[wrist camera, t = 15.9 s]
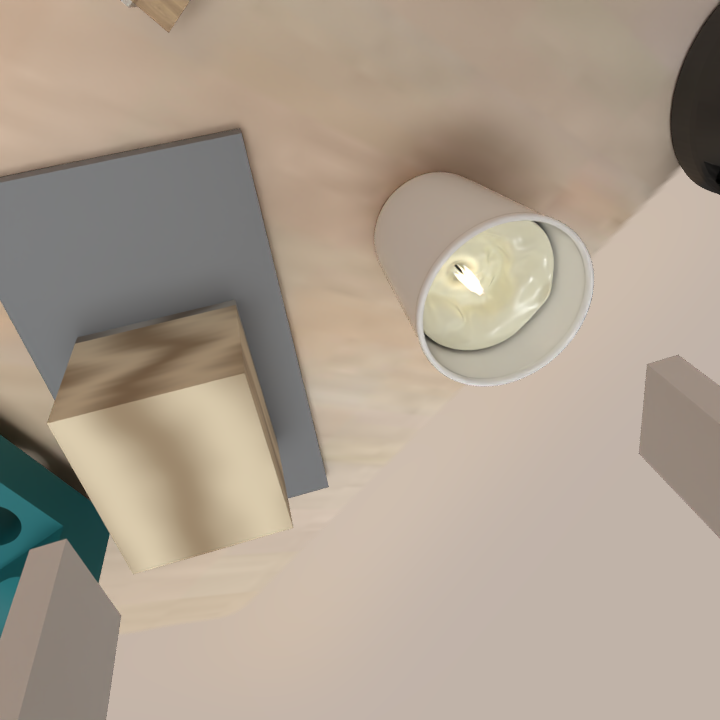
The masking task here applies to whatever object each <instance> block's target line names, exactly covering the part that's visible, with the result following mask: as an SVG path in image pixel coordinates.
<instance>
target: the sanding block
mask: <svg viewBox="0 0 720 720" xmlns="http://www.w3.org/2000/svg"><path fill="white" fill-rule="evenodd" d="M47 425H48V426H49V428H50V430H51V431H52V433H53V435H54V437H55V438H56V440H57V442H58V444H59V445H60V447H61V449H62V451H63V452H64V454H65V456H66V458H67V459H68V461H69V463H70V465H71V466H72V468H73V470H74V472H75V473H76V475H77V477H78V479H79V480H80V482H81V484H82V486H83V487H84V489H85V491H86V493H87V494H88V496H89V498H90V500H91V501H92V503H93V505H94V507H95V508H96V510H97V512H98V514H99V515H100V517H101V519H102V521H103V522H104V524H105V526H106V528H107V529H108V531H109V533H110V535H111V536H112V538H113V540H114V542H115V543H116V545H117V547H118V549H119V550H120V552H121V554H122V555H123V557H124V559H125V561H126V562H127V564H128V566H129V568H130V569H131V571H132V573H133V574H136V573H140V572H143V571H147V570H150V569H154V568H157V567H160V566H164V565H167V564H171V563H174V562H178V561H181V560H185V559H188V558H191V557H195V556H198V555H202V554H205V553H209V552H212V551H216V550H219V549H223V548H226V547H229V546H233V545H236V544H240V543H243V542H247V541H250V540H254V539H257V538H261V537H264V536H267V535H271V534H274V533H278V532H281V531H285V530H288V529H292V528H293V524H292V518H291V513H290V508H289V502H288V497H287V491H286V486H285V481H284V475H283V470H282V464H281V459H280V454H279V448H278V443H277V438H276V435H275V431H274V428H273V425H272V421H271V418H270V415H269V411H268V408H267V405H266V401H265V398H264V395H263V391H262V388H261V385H260V381H259V378H258V375H257V371H256V368H255V365H254V361H253V358H252V355H251V351H250V348H249V345H248V341H247V338H246V335H245V331H244V328H243V325H242V321H241V318H240V315H239V311H238V308H237V305H236V301H235V300H231V301H227V302H223V303H219V304H214V305H210V306H206V307H202V308H198V309H194V310H189V311H185V312H181V313H177V314H173V315H169V316H165V317H160V318H156V319H152V320H148V321H144V322H140V323H135V324H131V325H127V326H123V327H119V328H115V329H110V330H106V331H102V332H98V333H94V334H90V335H86V336H81V337H77V339H76V342H75V345H74V348H73V351H72V354H71V357H70V359H69V362H68V365H67V368H66V371H65V374H64V376H63V379H62V382H61V385H60V388H59V391H58V394H57V396H56V399H55V402H54V405H53V408H52V411H51V414H50V416H49V419H48V422H47Z"/></svg>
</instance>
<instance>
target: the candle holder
mask: <svg viewBox="0 0 720 720" xmlns="http://www.w3.org/2000/svg"><path fill="white" fill-rule="evenodd" d="M374 245H375V251H376V255H377V258H378V261H379V264H380V266H381V268H382V270H383V272H384V274H385V276H386V278H387V280H388V282H389V284H390V286H391V288H392V290H393V292H394V294H395V295H396V297H397V299H398V301H399V303H400V305H401V307H402V309H403V311H404V313H405V314H406V316H407V318H408V320H409V322H410V324H411V326H412V328H413V330H414V332H415V334H416V335H417V337H418V340H419V343H420V345H421V348H422V350H423V352H424V354H425V355H426V357H427V359H428V360H429V361H430V363H431V364H432V365H433V366H434V367H435V368H436V369H437V370H438V371H439V372H441V373H442V374H443V375H445V376H446V377H448V378H450V379H452V380H454V381H457V382H459V383H462V384H466V385H472V386H484V387H485V386H497V385H503V384H507V383H511V382H514V381H517V380H520V379H522V378H524V377H526V376H528V375H531V374H532V373H534V372H536V371H538V370H539V369H541V368H543V367H544V366H545V365H547V364H548V363H549V362H551V361H552V360H553V359H554V358H555V357H556V356H557V355H559V354H560V353H561V352H562V351H563V350H564V349H565V347H566V346H567V345H568V344H569V343H570V342H571V340H572V339H573V338H574V336H575V335H576V333H577V332H578V330H579V329H580V327H581V325H582V323H583V321H584V319H585V317H586V315H587V312H588V310H589V307H590V303H591V300H592V295H593V288H594V271H593V265H592V261H591V257H590V254H589V252H588V250H587V248H586V246H585V244H584V242H583V241H582V240H581V238H580V237H579V236H578V235H577V234H576V233H575V232H574V231H573V230H572V229H571V228H570V227H568V226H567V225H566V224H564V223H562V222H561V221H559V220H557V219H554V218H552V217H549V216H546V215H543V214H540V213H538V212H536V211H534V210H532V209H530V208H528V207H526V206H524V205H522V204H520V203H518V202H516V201H514V200H512V199H509V198H507V197H505V196H503V195H501V194H499V193H497V192H495V191H493V190H491V189H489V188H487V187H485V186H483V185H480V184H478V183H476V182H474V181H472V180H470V179H467V178H465V177H463V176H460V175H457V174H453V173H448V172H432V173H427V174H423V175H420V176H417V177H415V178H413V179H411V180H409V181H407V182H406V183H404V184H403V185H401V186H400V187H399V188H398V189H397V190H396V191H395V192H394V193H393V194H392V195H391V196H390V197H389V198H388V200H387V201H386V203H385V204H384V206H383V208H382V209H381V211H380V214H379V216H378V219H377V222H376V226H375V233H374Z"/></svg>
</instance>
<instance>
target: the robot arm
mask: <svg viewBox="0 0 720 720" xmlns="http://www.w3.org/2000/svg"><path fill="white" fill-rule="evenodd" d="M671 130H672V140H673V146H674V150H675V153H676V156H677V159H678V161H679V163H680V165H681V167H682V169H683V170H684V172H685V173H686V174H687V176H688V177H689V178H690V179H691V180H692V181H693V182H695V183H696V184H697V185H699V186H700V187H702V188H704V189H706V190H709V191H711V192H714V193H717V194H719V195H720V5H719V6H718V7H717V9H716V10H715V11H714V12H713V14H712V15H711V16H710V18H709V19H708V20H707V22H706V23H705V25H704V26H703V28H702V30H701V31H700V33H699V35H698V36H697V38H696V40H695V41H694V43H693V45H692V47H691V49H690V51H689V53H688V56H687V58H686V60H685V63H684V65H683V68H682V70H681V73H680V76H679V79H678V83H677V86H676V90H675V95H674V100H673V106H672V118H671ZM639 454H640V455H641V456H642V457H643V458H644V459H645V460H646V462H647V463H648V464H649V465H650V466H651V467H652V468H653V469H654V470H655V471H656V472H657V473H658V474H659V475H660V476H661V477H662V478H663V479H664V480H665V481H666V482H667V484H668V485H669V486H670V487H671V488H672V489H673V490H674V491H675V492H676V493H677V494H678V495H679V496H680V497H681V498H682V499H683V500H684V501H685V502H686V503H687V504H688V506H690V507H691V509H692V510H693V511H694V512H695V513H696V514H697V515H698V516H699V517H700V518H701V519H702V520H703V521H704V522H705V523H706V524H707V525H708V526H709V528H711V530H712V531H713V532H714V533H715V534H716V535H717V536H718V537H719V538H720V386H719V385H717V384H716V383H715V382H714V381H712V380H711V379H710V378H708V377H707V376H706V375H704V374H703V373H702V372H700V371H699V370H698V369H696V368H695V367H694V366H692V365H691V364H690V363H688V362H687V361H686V360H684V359H683V358H682V357H680V356H679V355H676V356H673V357H669V358H666V359H663V360H660V361H656V362H653V363H649V364H647V370H646V381H645V393H644V404H643V414H642V425H641V436H640V447H639ZM120 620H121V615H120V613H119V612H118V611H117V609H116V608H115V606H114V605H113V603H112V602H111V601H110V599H109V598H108V596H107V595H106V594H105V592H104V591H103V589H102V588H101V587H100V585H99V584H98V582H97V581H96V580H95V578H94V577H93V575H92V574H91V572H90V571H89V570H88V568H87V567H86V565H85V564H84V563H83V561H82V560H81V558H80V557H79V556H78V554H77V553H76V551H75V550H74V549H73V547H72V546H71V544H70V543H69V541H68V540H67V539H64V540H60V541H57V542H54V543H50V544H47V545H44V546H40V547H37V548H34V549H30V550H29V553H28V556H27V559H26V562H25V565H24V568H23V571H22V574H21V577H20V580H19V583H18V586H17V589H16V592H15V595H14V598H13V601H12V604H11V608H10V611H9V614H8V617H7V620H6V623H5V626H4V629H3V632H2V635H1V638H0V720H106V716H107V709H108V702H109V696H110V689H111V682H112V675H113V668H114V661H115V654H116V647H117V641H118V634H119V627H120Z"/></svg>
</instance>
